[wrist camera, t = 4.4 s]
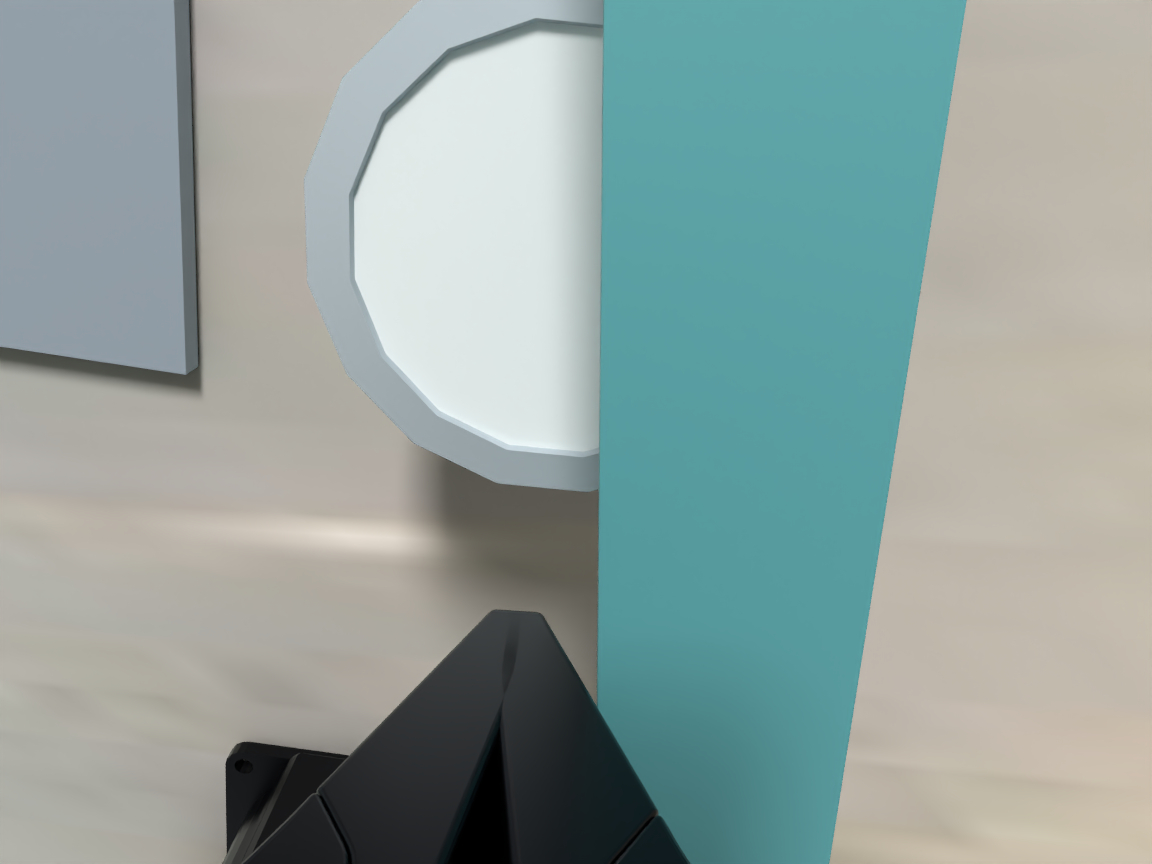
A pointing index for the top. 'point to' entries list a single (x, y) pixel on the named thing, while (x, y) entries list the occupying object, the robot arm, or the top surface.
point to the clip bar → (754, 388)
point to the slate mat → (98, 182)
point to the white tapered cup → (471, 234)
